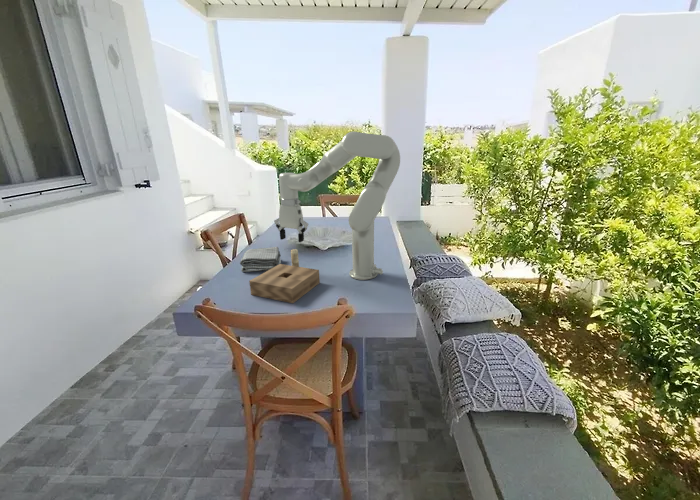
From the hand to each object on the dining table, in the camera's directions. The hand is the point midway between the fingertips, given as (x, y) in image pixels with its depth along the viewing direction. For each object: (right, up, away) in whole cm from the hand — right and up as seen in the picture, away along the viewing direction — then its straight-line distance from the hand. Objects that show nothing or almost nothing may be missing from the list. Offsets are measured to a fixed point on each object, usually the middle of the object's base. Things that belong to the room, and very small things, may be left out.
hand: (292, 240), depth 144 cm
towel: (-17, -13, +15) cm, 26 cm away
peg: (+1, -15, +5) cm, 16 cm away
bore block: (0, -20, -11) cm, 23 cm away
